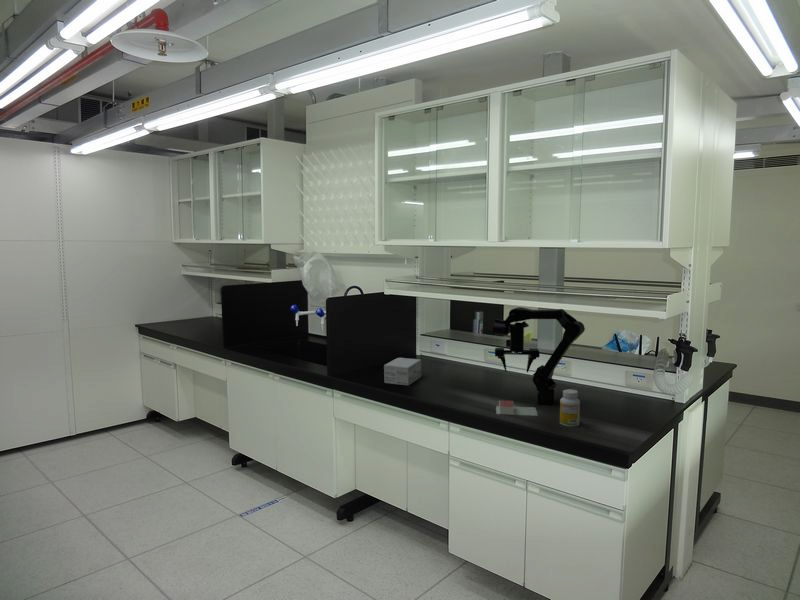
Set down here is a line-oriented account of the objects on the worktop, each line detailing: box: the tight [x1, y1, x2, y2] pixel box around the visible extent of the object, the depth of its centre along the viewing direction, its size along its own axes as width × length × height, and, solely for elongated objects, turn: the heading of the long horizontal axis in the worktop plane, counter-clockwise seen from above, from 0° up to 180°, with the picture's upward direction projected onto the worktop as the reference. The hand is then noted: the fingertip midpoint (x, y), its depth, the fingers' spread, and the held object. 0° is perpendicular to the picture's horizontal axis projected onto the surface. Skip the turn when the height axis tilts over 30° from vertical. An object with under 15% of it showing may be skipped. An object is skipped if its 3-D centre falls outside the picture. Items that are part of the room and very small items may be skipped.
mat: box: [495, 405, 538, 417], centre depth 215 cm, size 16×10×1 cm, turn 81°
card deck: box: [498, 399, 515, 416], centre depth 214 cm, size 8×6×3 cm
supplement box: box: [383, 357, 422, 386], centre depth 265 cm, size 17×13×9 cm
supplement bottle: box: [559, 388, 581, 427], centre depth 199 cm, size 7×7×13 cm
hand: (516, 371), depth 231 cm, fingers open, 9 cm apart
